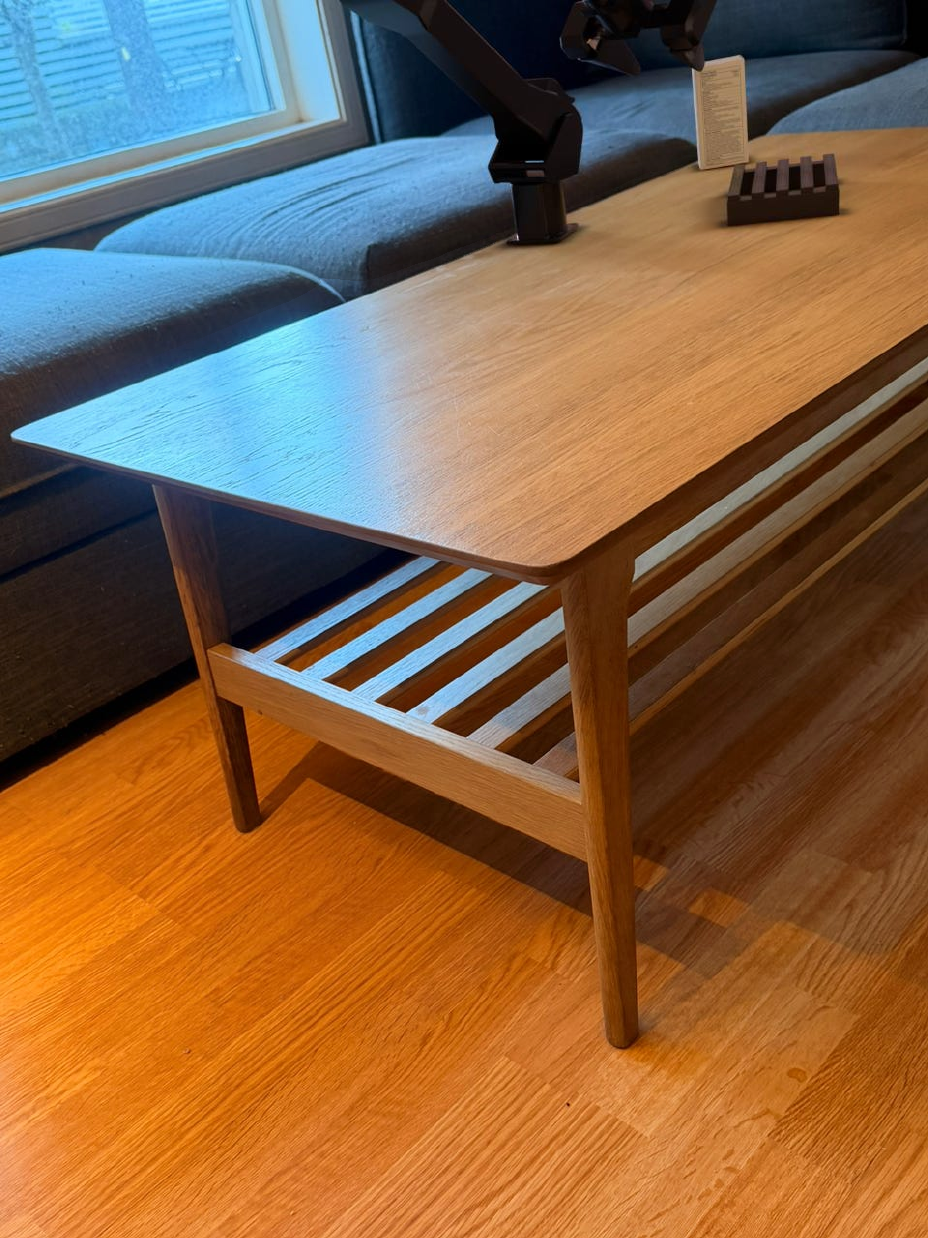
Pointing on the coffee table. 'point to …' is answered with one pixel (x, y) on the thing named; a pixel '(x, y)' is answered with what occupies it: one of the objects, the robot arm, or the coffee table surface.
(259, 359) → the coffee table surface
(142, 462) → the coffee table surface
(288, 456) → the coffee table surface
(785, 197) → the rack
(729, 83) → the cosmetic box
